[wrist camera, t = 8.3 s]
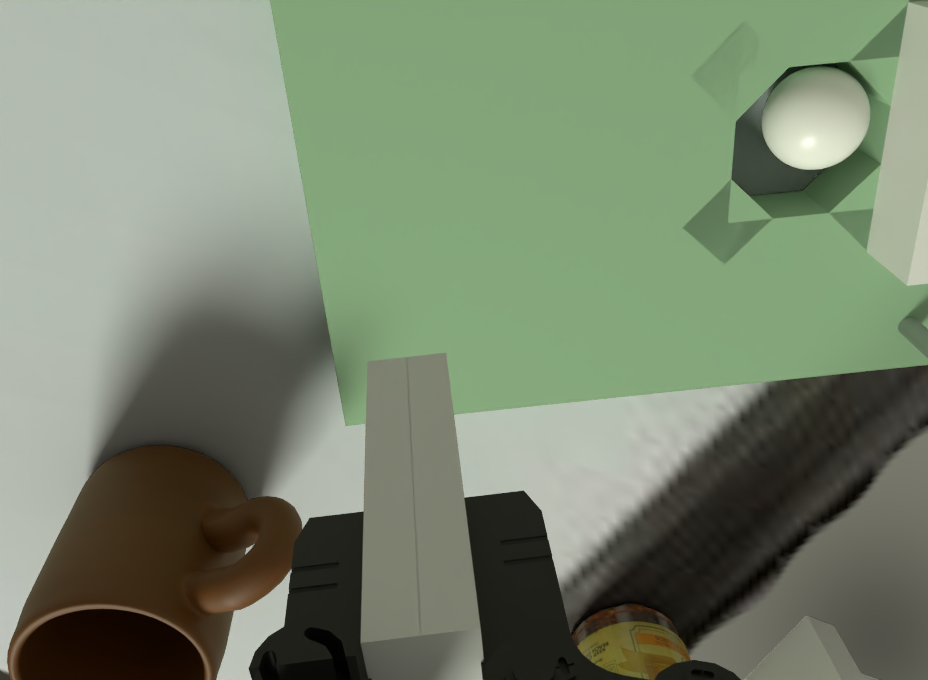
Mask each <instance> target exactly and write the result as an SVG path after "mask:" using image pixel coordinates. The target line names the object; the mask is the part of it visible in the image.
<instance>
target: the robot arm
mask: <svg viewBox="0 0 928 680" xmlns="http://www.w3.org/2000/svg"><path fill="white" fill-rule="evenodd" d="M291 569H292V573H291V575H290V583H289V594H288V600H287V608H286V617H285V625H284V627H283V628H281V629H280V630H278V631H277V632H275V633H273V634H272V635H270V636H268V638H267V639H266V640H265V641H264V642H263V643H262V644H261V646H260V647H259V648H258V649H257V650H256V651H255V654H254V656H253V659H252V662H251V664H250V667H249V671H250V674H251V678H252V680H649V679H643V678H637V677H631V676H625V675H621V674H618V673H614V672H610V671H607V670H605V669H603V668H601V667H599V666H597V665H596V664H594V663H593V662H591V661H590V660H589V659H588V658H587V657H585V656H584V655H583V654H582V653H581V651H580V650H579V649H578V647H577V646H576V645H575V643H574V641H573V638H572V636H571V633H570V630H569V626H568V622H567V617H566V613H565V609H564V605H563V600H562V596H561V592H560V588H559V583H558V579H557V575H556V571H555V566H554V562H553V560H552V554H551V549H550V545H549V541H548V539H547V533H546V528H545V524H544V520H543V516H542V511H541V510H540V509H539V507H538V506H537V505H536V504H535V503H534V502H533V501H532V500H531V498H530V497H529V496H528V495H527V494H526V493H525V492H524V491H518V492H509V493H501V494H492V495H484V496H475V497H467V498H464V492H463V484H462V476H461V468H460V460H459V452H458V444H457V436H456V428H455V420H454V412H453V404H452V396H451V388H450V380H449V372H448V364H447V356H446V353H438V354H429V355H420V356H411V357H403V358H394V359H385V360H376V361H367V394H366V436H365V478H364V512H357V513H348V514H340V515H332V516H323V517H315V518H310V519H309V520H308V522H307V523H306V525H305V526H304V528H303V530H302V531H301V533H300V534H299V536H298V537H297V539H296V540H295V542H294V550H293V558H292V566H291ZM654 680H740V679H739V678H738V677H737V676H736V675H735V674H734V673H733V672H731V671H728V670H727V669H725V668H723V667H721V666H719V665H717V664H715V663H709V662H703V661H697V660H691V661H685V662H679V663H674V664H672V665H671V666H669V667H667V668H666V669H664V670H662V671H660V672H659V673H658V675H657V676H656V678H655V679H654Z"/></svg>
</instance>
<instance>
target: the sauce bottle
mask: <svg viewBox="0 0 928 680" xmlns="http://www.w3.org/2000/svg"><path fill="white" fill-rule="evenodd" d="M572 638H573V641H574V643H575V645H576V646H577V647H578V649H579V650H580V651H581V653H582V654H583V655H584V656H585V657H587V658H588V659H589V660H590V661H591V662H593V663H594V664H596V665H597V666H599V667H601V668H603V669H605V670H607V671H610V672H614V673H618V674H621V675H625V676H631V677H637V678H643V679H649V680H654V679H655V678H656V676H657V675H658V673H659V672H660V671H662V670H664V669H666V668H667V667H669V666H671V665H672V664H674V663H679V662H685V661H691V660H690V657H689V654H688V651H687V649H686V647H685V645H684V643H683V642H682V640H681V639H680V638H679V635H678V632H677V630H676V628H675V627H674V625H673V623H672V621H671V620H670V619H669V618H667V617H666V616H664V615H663V614H662V613H660V612H658V611H656V610H653V609H651V608H647V607H645V606H643V605H638V604H623V605H620V606H618V607H611V608H607V609H603V610H600V611H599V612H597V613H595V614H593V615H591V616H589V617H588V618H587V619H586V620H584V621H583V622H582V623H581V624H580V625H579V627H578V628H576V629H575V631H574V633H573V635H572Z"/></svg>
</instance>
